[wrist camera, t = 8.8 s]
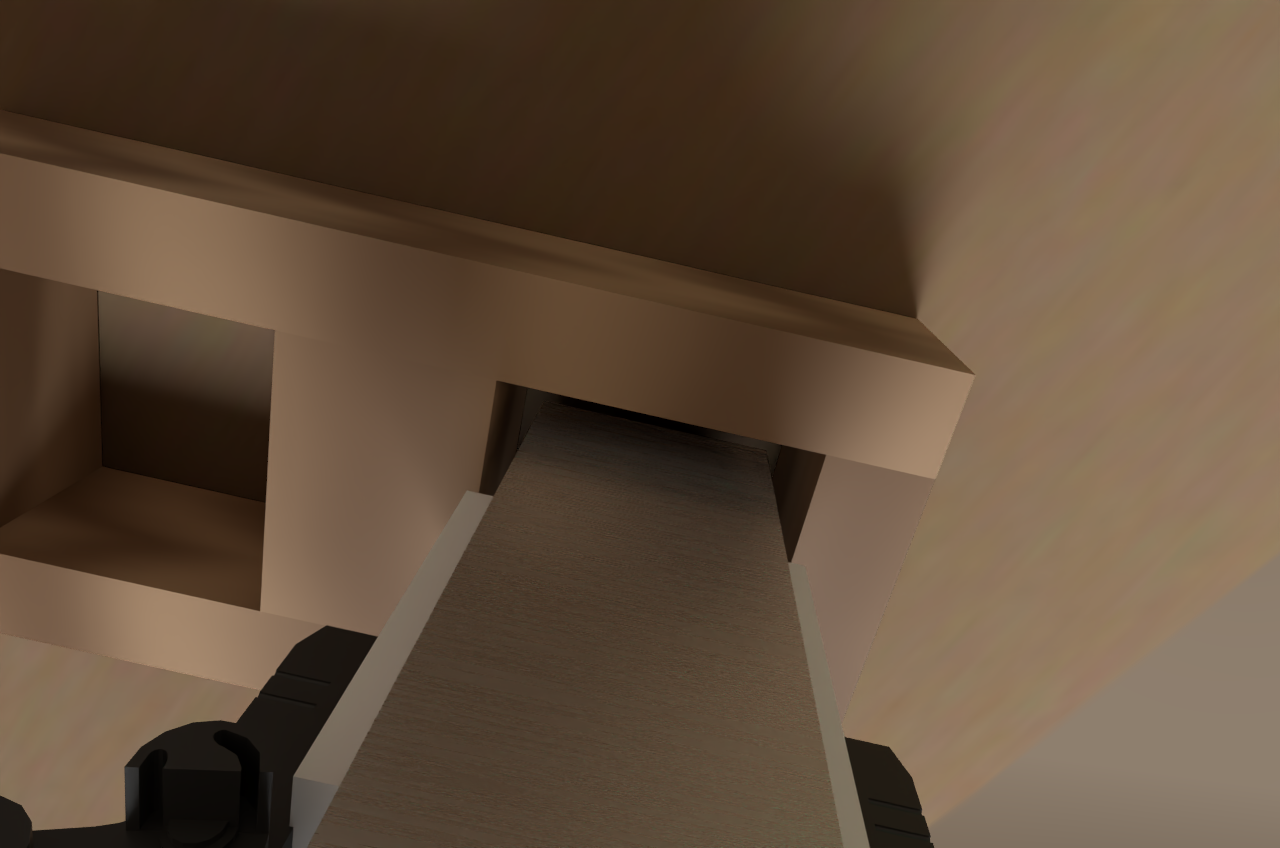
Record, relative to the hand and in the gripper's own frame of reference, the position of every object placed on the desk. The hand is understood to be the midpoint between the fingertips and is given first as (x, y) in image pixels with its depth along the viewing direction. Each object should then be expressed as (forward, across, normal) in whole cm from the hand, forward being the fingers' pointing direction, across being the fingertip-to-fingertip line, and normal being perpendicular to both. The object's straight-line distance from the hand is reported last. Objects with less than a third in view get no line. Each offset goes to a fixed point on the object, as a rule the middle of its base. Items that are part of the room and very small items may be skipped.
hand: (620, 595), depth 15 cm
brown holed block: (+5, +5, 0) cm, 7 cm away
